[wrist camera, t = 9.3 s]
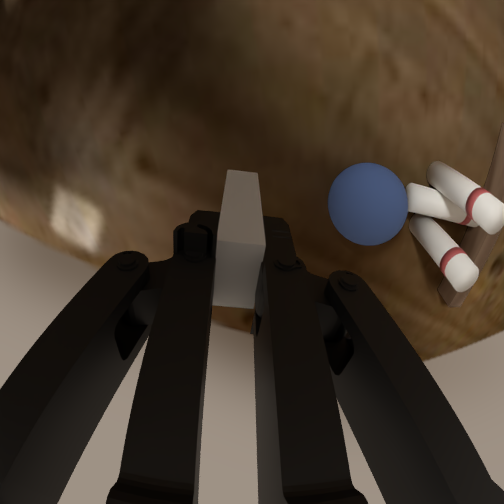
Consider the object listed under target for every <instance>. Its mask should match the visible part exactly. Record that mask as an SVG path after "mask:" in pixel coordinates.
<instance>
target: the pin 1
mask: <svg viewBox="0 0 504 504" xmlns="http://www.w3.org/2000/svg"><path fill="white" fill-rule="evenodd" d="M426 176H427V180H428V182H429V184H430V185H432V186H433V187H434V188H436V189H437V190H438V191H439V192H441V193H442V194H443V195H444V196H446V197H447V198H448V199H449V200H451V201H452V202H453V203H454V204H455V205H457V206H458V207H459V208H460V209H461V210H463V211H464V212H465V213H466V214H467V215H468V216H469V217H470V218H471V219H472V220H473V221H474V222H475V223H477V224H478V225H479V226H481V227H482V228H483V229H484V230H485V231H486V232H487V233H488V234H495V233H497V232H498V231H500V229H501V228H502V227H503V225H504V204H503V203H502V202H501V201H500V200H498V199H497V198H496V197H494V196H493V195H492V194H491V193H490V192H488V191H487V190H486V189H484V188H482V187H480V186H479V185H477V184H476V183H474V182H473V181H471V180H470V179H468V178H467V177H465V176H464V175H462V174H461V173H459V172H458V171H456V170H454V169H453V168H451V167H450V166H448V165H446V164H445V163H443V162H441V161H435V162H433V163H432V164H431V165H430V166H429V167H428V170H427V175H426Z"/></svg>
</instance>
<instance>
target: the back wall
mask: <svg viewBox="0 0 504 504" xmlns="http://www.w3.org/2000/svg"><path fill="white" fill-rule="evenodd" d="M484 189H486V190H487V191H488V192H490V193H491V194H492V195H493V196H494V197H496V198H497V199H498V200H500V201H501V202H502V203H503V204H504V123H502V126H501V131H500V135H499V139H498V143H497V146H496V150H495V153H494V157H493V160H492V164H491V167H490V170H489V173H488V176H487V179H486V182H485V185H484ZM501 230H502V228H501V229H500V231H498V232H497V233H495V234H488V233H487V232H486V231H485V230H484V229H483V228H482V227H481V226H479V225H478V226H477V227H471V226H468V229H467V231H466V233H465V235H464V238H463V240H462V242H461V244H460V246H459V247H460V248H462V249H463V250H464V252H465V253H466V254H467V255H468V257H469V258H470V259H471V261H472V262H473V263H474V264H475V265H476V266H477V268H478V269H479V274H480V272H481V271H482V269H483V267H484V265H485V263H486V261H487V259H488V257H489V255H490V253H491V251H492V249H493V247H494V245H495V243H496V241H497V239H498V236H499V234H500V232H501ZM478 276H479V275H478ZM473 285H474V284H473ZM473 285H472V287H473ZM472 287H470V288H469V289H468V290H466V291H464V292H457V291H456V290H455V289H454V287H453V286H452V284H451V283H450V282H449V280H448V279H447V278H446V277H445V276H444V278H443V280H442V282H441V284H440V286H439V287H438V289H437V290H438V291H439V293H440V294H441V296H442V297H443V299H444V301H445V302H446V304H447V305H448V307H460V306H461V305H462V303H463V302H464V300H465V298H466V297H467V295H468V293H469V292H470V290H471V288H472Z"/></svg>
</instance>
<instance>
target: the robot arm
mask: <svg viewBox="0 0 504 504" xmlns="http://www.w3.org/2000/svg"><path fill="white" fill-rule="evenodd" d="M173 243H174V254H173V257H172V258H170V259H167V260H164V261H159V262H148V258H147V257H146V256H145V255H144V254H142V253H140V252H137V251H123V252H120V253H118V254H115V255H114V256H113V257H111V258H110V259H109V260H108V261H107V262H106V263H105V264H104V265H103V266H102V267H101V268H100V269H99V270H98V271H97V272H96V274H95V275H94V276H93V277H92V278H91V279H90V280H89V281H88V282H87V283H86V284H85V285H84V286H83V287H82V289H81V290H80V291H79V292H78V293H77V294H76V295H75V296H74V297H73V299H72V300H71V301H70V302H69V303H68V304H67V305H66V306H65V307H64V309H63V310H62V311H61V312H60V313H59V314H58V316H57V317H56V318H55V319H54V320H53V321H52V323H51V324H50V325H49V326H48V327H47V329H46V330H45V331H44V332H43V334H42V335H41V336H40V337H39V339H38V340H37V341H36V342H35V343H34V345H33V346H32V347H31V349H30V350H29V351H28V352H27V354H26V355H25V356H24V358H23V359H22V360H21V362H20V363H19V364H18V366H17V367H16V368H15V369H14V371H13V372H12V374H11V375H10V376H9V378H8V379H7V380H6V382H5V384H4V385H3V386H2V388H1V389H0V504H57V503H58V501H59V499H60V497H61V495H62V493H63V491H64V489H65V487H66V485H67V483H68V481H69V479H70V477H71V475H72V473H73V471H74V469H75V467H76V465H77V463H78V461H79V459H80V457H81V455H82V453H83V451H84V449H85V447H86V446H87V444H88V442H89V440H90V438H91V436H92V434H93V432H94V431H95V429H96V427H97V425H98V423H99V421H100V420H101V418H102V416H103V414H104V412H105V410H106V409H107V407H108V405H109V403H110V401H111V400H112V398H113V396H114V394H115V392H116V391H117V389H118V387H119V386H120V384H121V382H122V380H123V378H124V377H125V375H126V374H127V372H128V370H129V368H130V367H131V365H132V363H133V362H134V359H135V358H136V356H137V355H138V353H139V351H140V350H141V348H142V346H143V345H144V343H145V341H146V340H147V338H148V336H149V338H148V342H147V346H146V349H145V353H144V357H143V361H142V365H141V369H140V373H139V378H138V382H137V386H136V390H135V395H134V400H133V404H132V409H131V414H130V419H129V423H128V428H127V434H126V439H125V444H124V450H123V455H122V461H121V468H120V473H119V477H118V480H117V482H116V483H115V484H114V486H113V487H112V488H111V489H110V492H109V494H108V496H107V500H106V504H198V489H199V487H198V486H199V467H200V450H201V434H202V433H201V432H202V419H203V406H204V393H205V380H206V369H207V357H208V346H209V335H210V326H211V315H212V305H216V306H226V307H238V308H249V309H253V308H254V303H255V314H254V318H253V323H252V328H251V333H250V334H254V364H255V399H256V433H257V464H258V465H257V466H258V467H257V468H258V499H259V501H258V503H259V504H368V502H367V500H366V498H365V497H364V495H363V494H362V493H360V492H359V491H358V490H356V489H355V488H354V486H353V484H352V481H351V476H350V470H349V464H348V458H347V452H346V446H345V440H344V435H343V429H342V425H341V419H340V414H339V409H338V404H337V400H338V402H339V404H340V406H341V408H342V410H343V412H344V415H345V416H346V419H347V420H348V423H349V425H350V427H351V429H352V431H353V434H354V436H355V438H356V440H357V442H358V444H359V446H360V448H361V450H362V453H363V455H364V457H365V459H366V461H367V463H368V466H369V468H370V470H371V472H372V474H373V476H374V478H375V481H376V483H377V485H378V487H379V489H380V491H381V493H382V496H383V498H384V500H385V502H386V504H504V491H503V490H502V489H501V488H500V487H499V486H498V485H497V484H496V483H495V482H494V481H493V480H492V479H491V478H490V475H489V474H488V472H487V470H486V468H485V466H484V464H483V462H482V460H481V458H480V456H479V454H478V452H477V451H476V449H475V447H474V445H473V443H472V441H471V440H470V438H469V436H468V434H467V433H466V431H465V429H464V427H463V426H462V424H461V422H460V421H459V419H458V417H457V416H456V414H455V412H454V410H453V409H452V407H451V405H450V404H449V402H448V401H447V399H446V397H445V396H444V394H443V393H442V391H441V389H440V388H439V386H438V385H437V383H436V382H435V380H434V378H433V377H432V375H431V374H430V372H429V371H428V369H427V368H426V366H425V365H424V363H423V362H422V360H421V359H420V357H419V356H418V354H417V353H416V351H415V350H414V348H413V347H412V346H411V344H410V343H409V341H408V340H407V338H406V337H405V335H404V334H403V333H402V331H401V330H400V328H399V327H398V326H397V324H396V323H395V321H394V320H393V319H392V317H391V316H390V314H389V313H388V312H387V310H386V309H385V308H384V306H383V305H382V304H381V302H380V301H379V300H378V298H377V297H376V296H375V294H374V293H373V292H372V290H371V289H370V288H369V286H368V285H367V284H366V282H365V281H364V280H363V279H362V278H361V277H359V276H358V275H356V274H354V273H352V272H349V271H341V270H339V271H335V272H333V273H332V274H331V275H330V276H329V279H326V278H322V277H319V276H316V275H313V274H311V273H309V272H307V270H306V266H305V264H304V263H303V261H302V260H300V259H299V258H298V257H296V253H295V249H294V245H293V241H292V237H291V233H290V229H289V225H288V224H287V223H286V222H285V221H284V220H283V219H282V218H275V217H267V216H263V215H262V206H261V197H260V188H259V180H258V173H254V172H246V171H237V170H227V176H226V182H225V188H224V194H223V200H222V207H221V212H212V211H202V210H197V211H196V212H195V213H193V214H192V215H191V216H190V219H189V222H188V223H184V224H181V225H179V226H177V227H176V228H175V229H174V231H173ZM348 333H349V334H348ZM349 335H350V336H349ZM336 398H337V399H336Z"/></svg>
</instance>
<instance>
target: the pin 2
mask: <svg viewBox="0 0 504 504" xmlns="http://www.w3.org/2000/svg"><path fill="white" fill-rule="evenodd" d="M409 229H410V231H411V232H412V234H413V235H414V236H415V237H416V239H417V240H418V241H419V242H420V243H421V245H422V246H423V247H424V248H425V250H426V251H427V252H428V253H429V255H430V256H431V257H432V259H433V260H434V261H435V263H436V264H437V265H438V267H439V268H440V270H441V272H442V273H443V274H444V276H445V277H446V278H447V279H448V280H449V282H450V283H451V284H452V286H453V287H454V289H455V290H456V291H457V292H464V291H466V290H468V289H469V288H470V287H472V285H473V284H474V283H475V282H476V280H477V278H478V275H479V269H478V268H477V266H476V265H475V264H474V263H473V262H472V261H471V259H470V258H469V257H468V255H467V254H466V253H465V252H464V250H463V249H462V248H460V247H459V246H458V245H457V244H456V243H455V241H454V240H453V239H452V238H451V237H450V236H449V235H448V234H447V233H446V232H445V231H444V230H443V229H442V228H441V227H440V226H439V225H438V224H437V223H436V222H435V221H434V220H433V219H432V218H431V217H430V216H427V215H422V214H418V213H416V214H414V215H413V216H412V218H411V219H410V222H409Z"/></svg>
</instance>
